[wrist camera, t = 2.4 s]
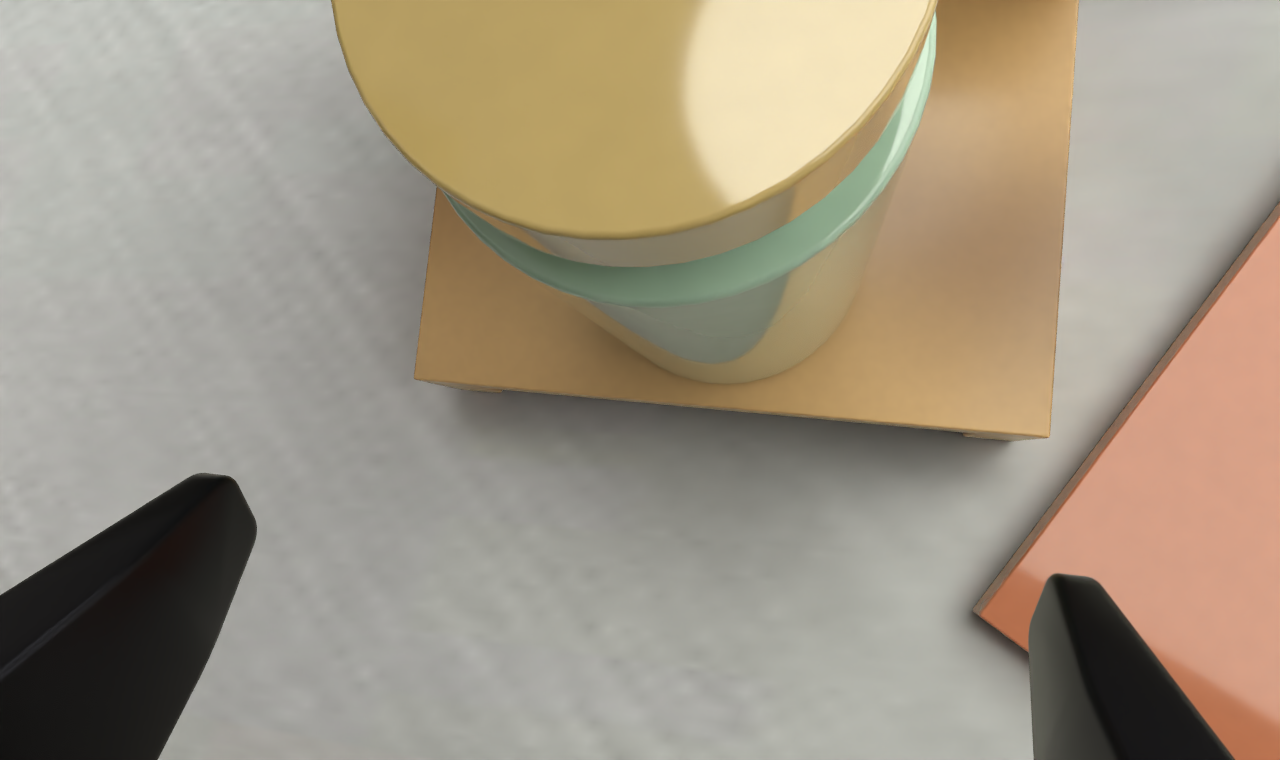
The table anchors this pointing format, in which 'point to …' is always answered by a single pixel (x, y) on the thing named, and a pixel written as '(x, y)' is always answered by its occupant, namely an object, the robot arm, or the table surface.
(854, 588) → the table surface
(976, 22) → the shelf
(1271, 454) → the trivet
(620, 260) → the jar
